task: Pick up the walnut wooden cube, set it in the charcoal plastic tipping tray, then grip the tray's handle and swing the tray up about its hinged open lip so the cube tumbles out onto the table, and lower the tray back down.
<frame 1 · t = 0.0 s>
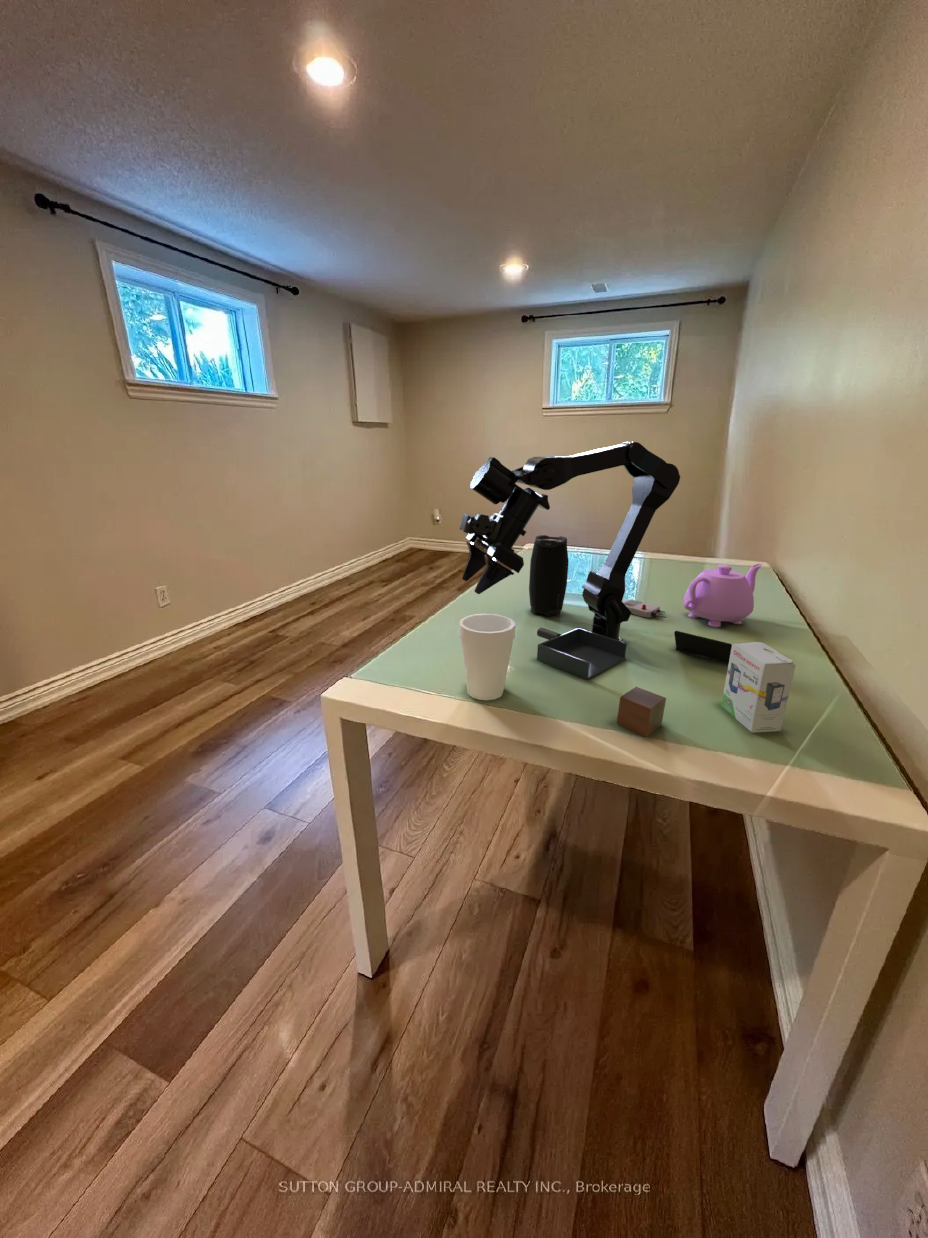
hand: (470, 586, 96), 15 cm above the table, tool tilted 35°, fingers open, 9 cm apart
teapot: (717, 619, 124), on the table
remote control: (639, 612, 128), on the table
tray: (572, 647, 101), point 2 cm above the table, hinge at 0.0°
portable speaker: (545, 613, 127), on the table
ink box: (747, 719, 79), on the table
block: (638, 725, 77), on the table
foam cup: (485, 692, 87), on the table
handheld gaming console: (703, 656, 102), on the table
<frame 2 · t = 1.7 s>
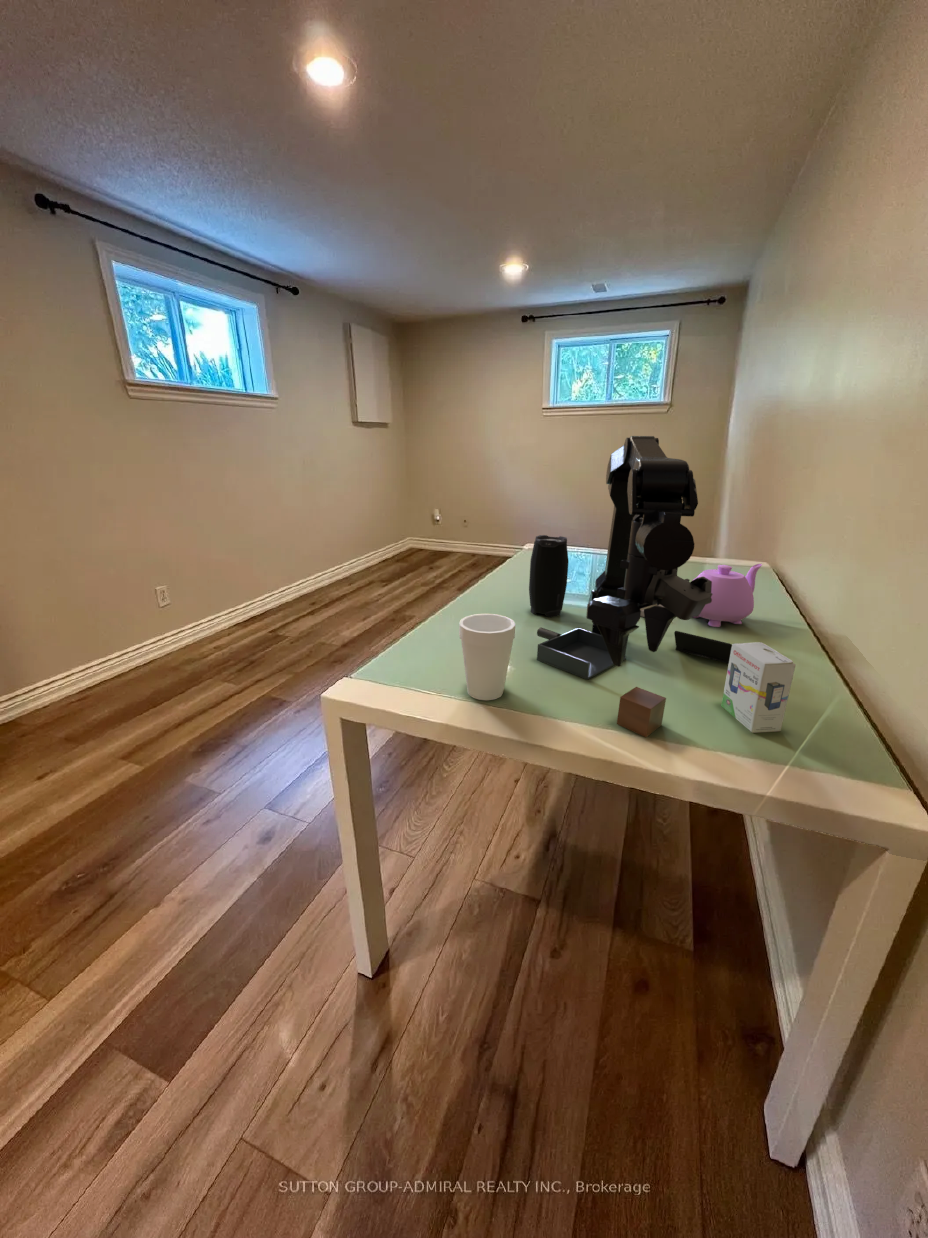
hand: (635, 658, 73), 11 cm above the table, tool pointing down, fingers open, 9 cm apart
nothing on the table moved.
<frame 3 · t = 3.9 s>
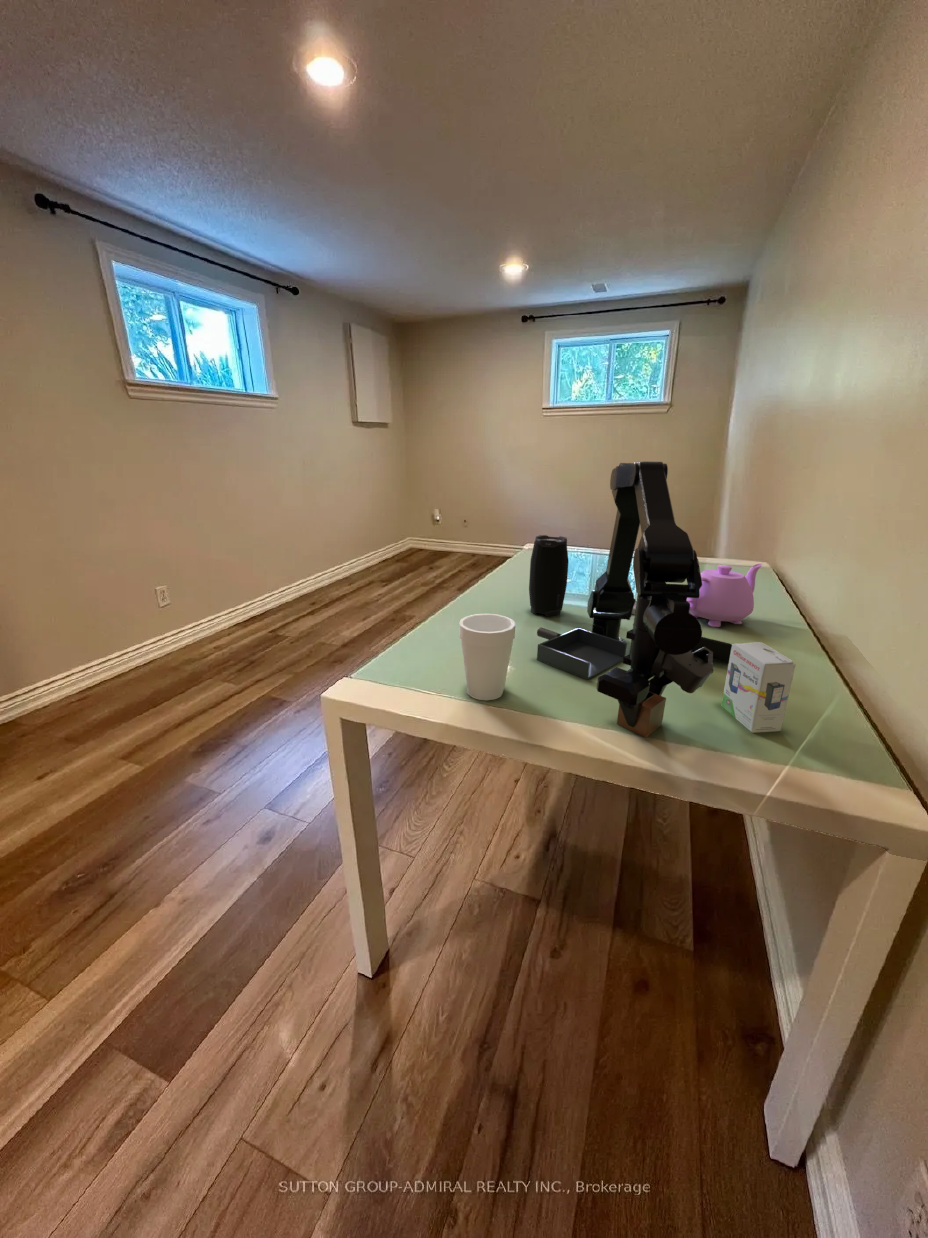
hand: (639, 719, 77), 1 cm above the table, tool pointing down, fingers closed on block, 5 cm apart
block: (638, 725, 77), on the table, touching gripper
everything else where it was.
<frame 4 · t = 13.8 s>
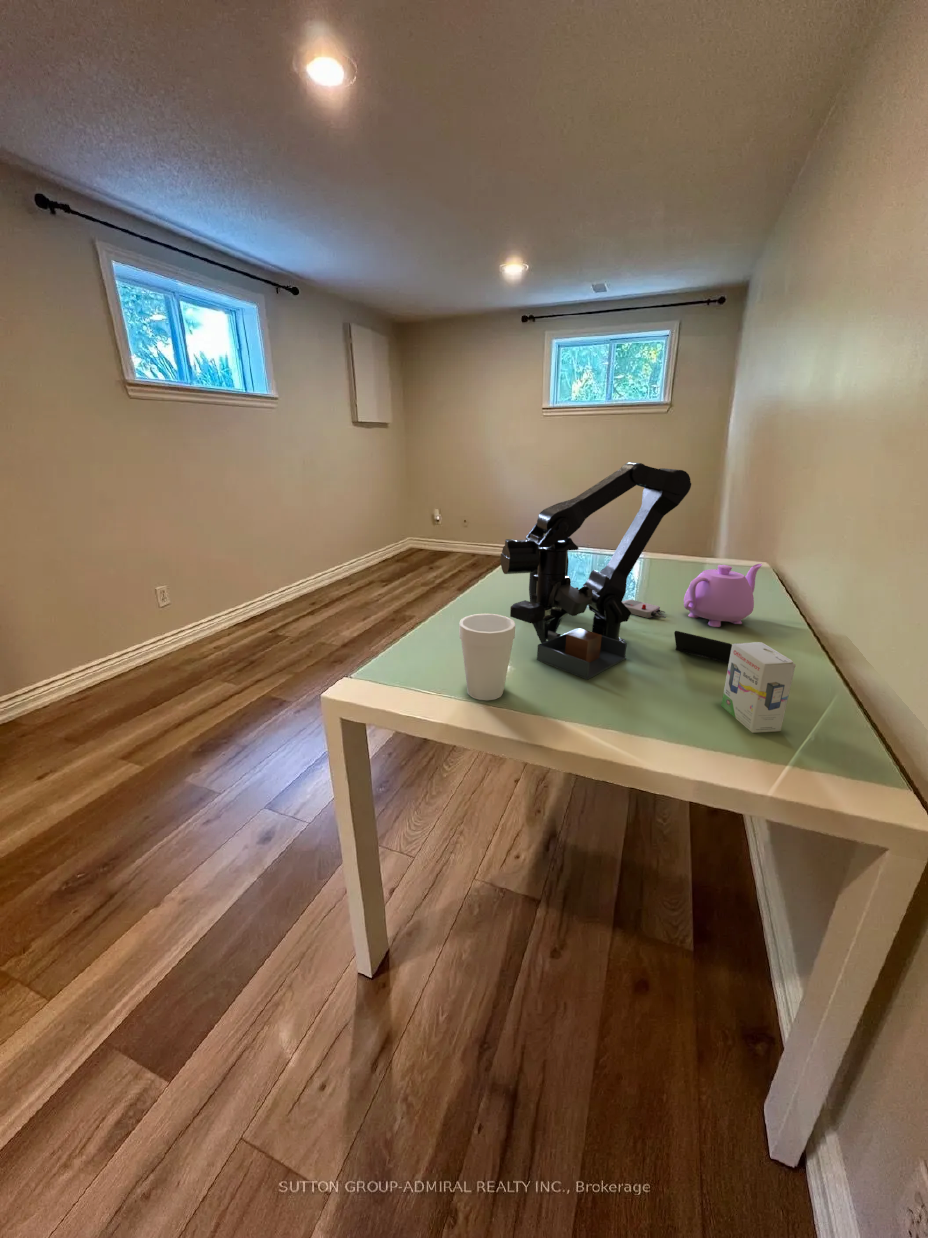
hand: (546, 642, 105), 1 cm above the table, tool pointing down, fingers closed on tray, 2 cm apart
tray: (572, 647, 101), point 2 cm above the table, hinge at -0.3°, touching block, gripper
block: (582, 657, 99), point 1 cm above the table, touching tray
everything else where it was.
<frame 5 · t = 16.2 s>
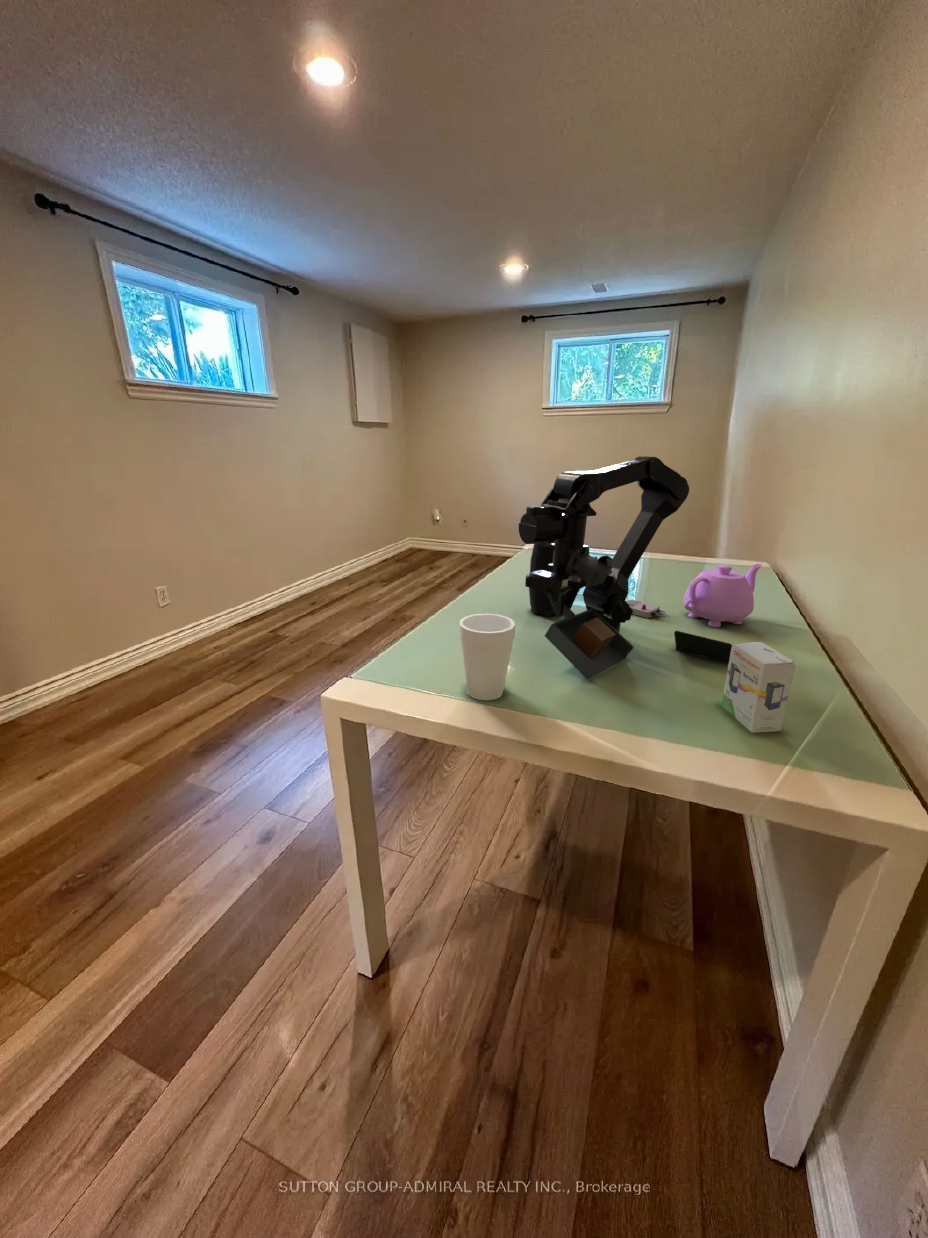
hand: (562, 615, 100), 8 cm above the table, tool pointing down, fingers closed on tray, 2 cm apart
tray: (581, 632, 98), point 6 cm above the table, hinge at 28.2°, touching block, gripper
block: (587, 646, 98), point 3 cm above the table, tilted 28°, touching tray
everything else where it was.
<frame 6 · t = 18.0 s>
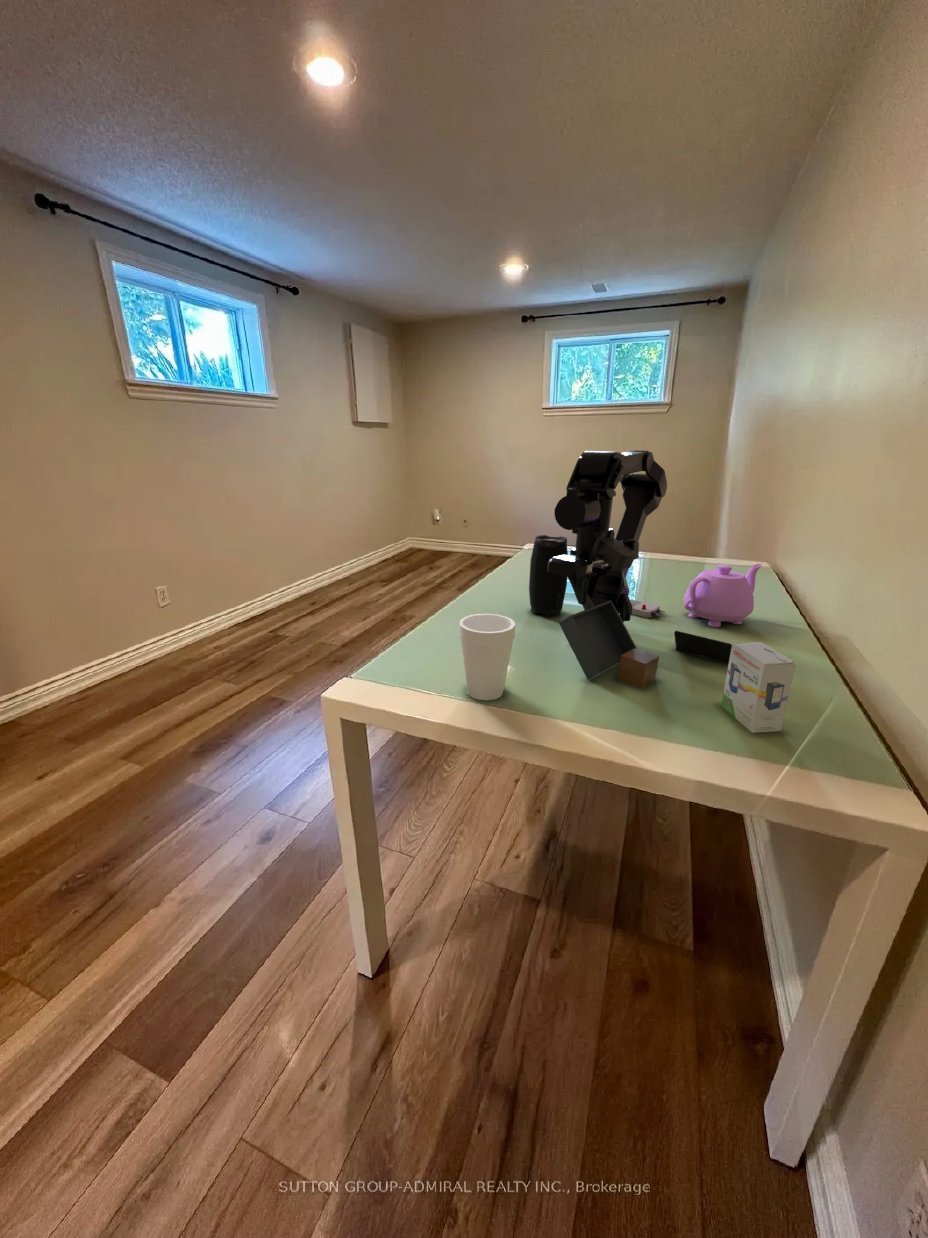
hand: (584, 603, 96), 12 cm above the table, tool pointing down, fingers closed on tray, 2 cm apart
tray: (594, 626, 95), point 8 cm above the table, hinge at 51.0°, touching gripper
block: (639, 655, 90), point 5 cm above the table, tilted 180°
everything else where it was.
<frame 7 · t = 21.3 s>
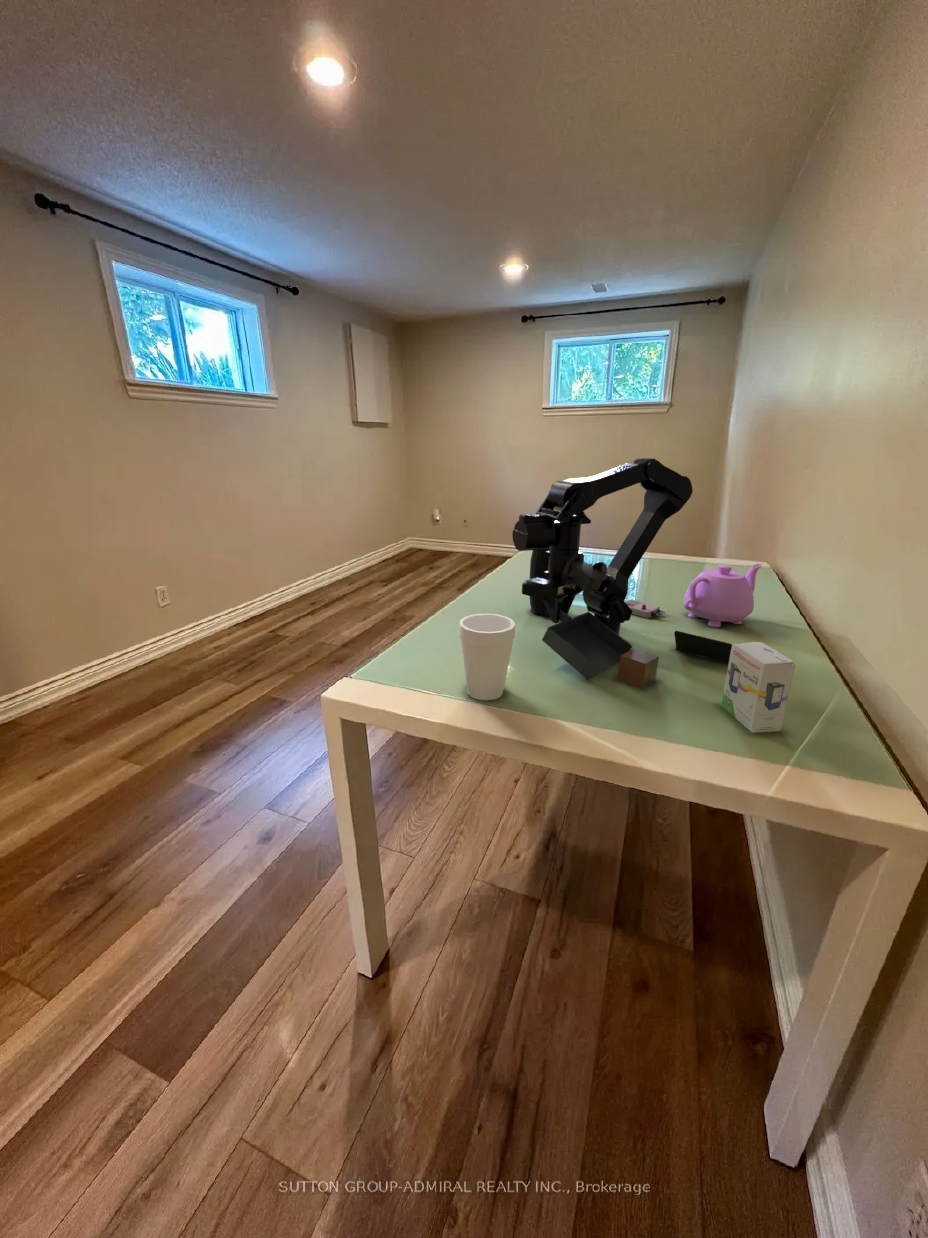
hand: (558, 621, 102), 7 cm above the table, tool pointing down, fingers closed on tray, 2 cm apart
tray: (579, 635, 99), point 5 cm above the table, hinge at 22.3°, touching gripper
everything else where it was.
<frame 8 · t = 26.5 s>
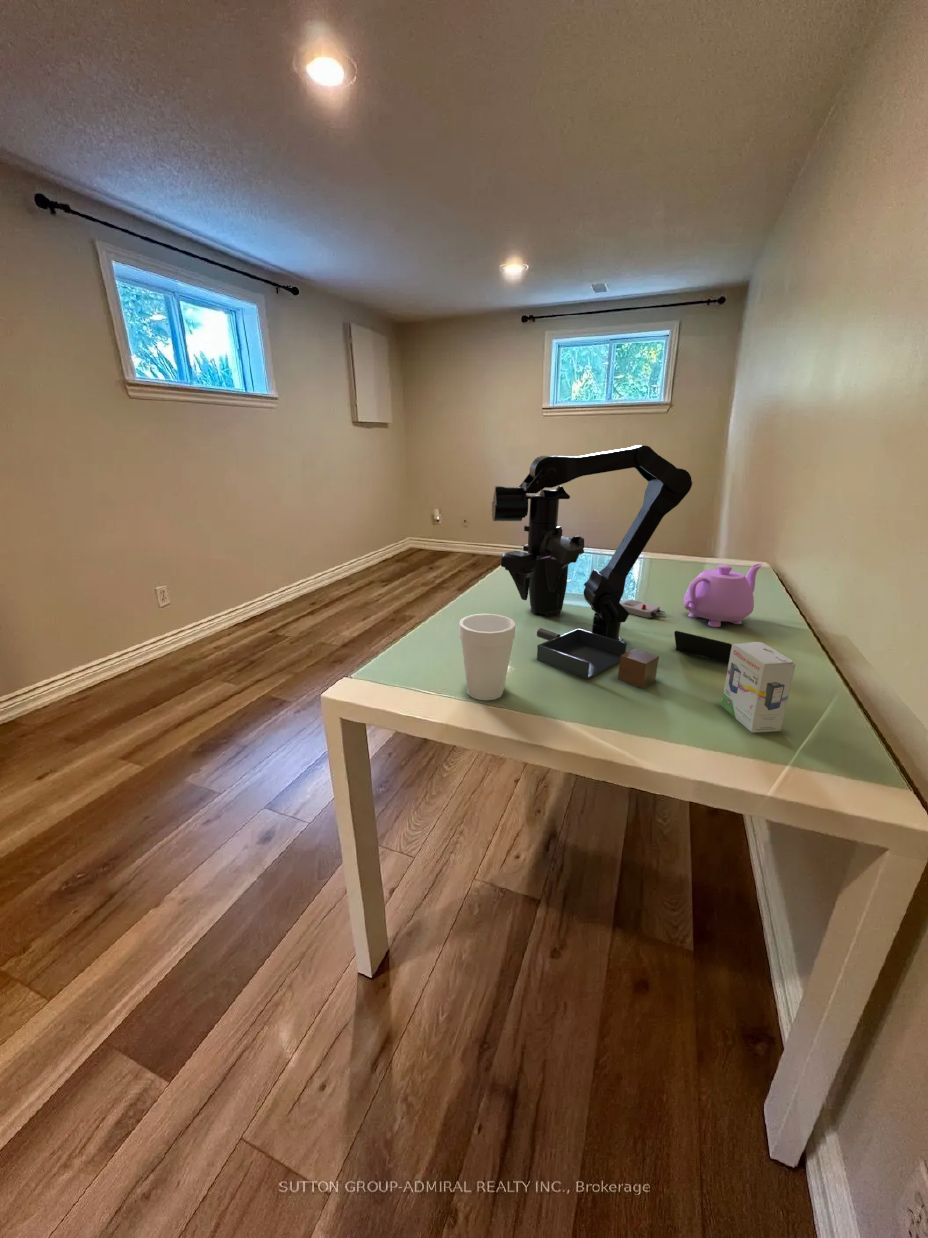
hand: (538, 595, 104), 11 cm above the table, tool pointing down, fingers open, 9 cm apart
tray: (572, 647, 101), point 2 cm above the table, hinge at -0.8°
everything else where it was.
at the end: tray reached +51° during the clip, -1° at the end; block inside the target area on the tray (3.3 cm from its centre), point 4.8 cm above the tray's base; block touching table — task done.
